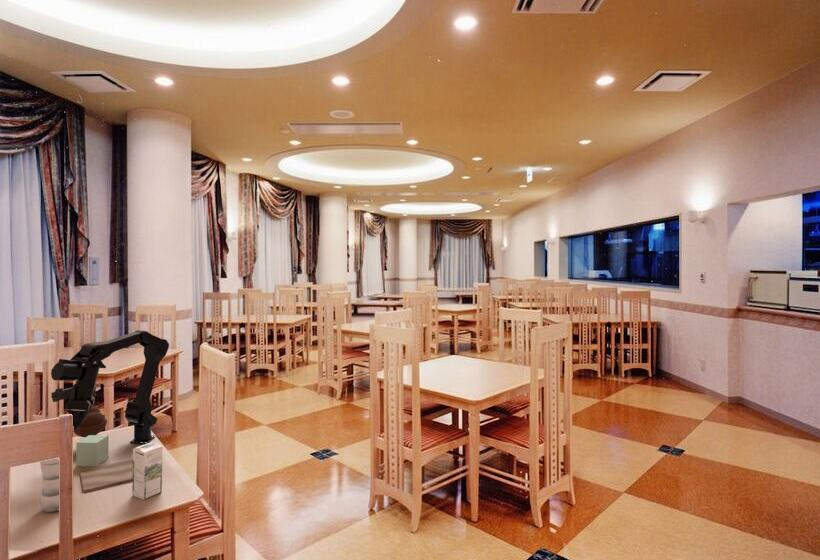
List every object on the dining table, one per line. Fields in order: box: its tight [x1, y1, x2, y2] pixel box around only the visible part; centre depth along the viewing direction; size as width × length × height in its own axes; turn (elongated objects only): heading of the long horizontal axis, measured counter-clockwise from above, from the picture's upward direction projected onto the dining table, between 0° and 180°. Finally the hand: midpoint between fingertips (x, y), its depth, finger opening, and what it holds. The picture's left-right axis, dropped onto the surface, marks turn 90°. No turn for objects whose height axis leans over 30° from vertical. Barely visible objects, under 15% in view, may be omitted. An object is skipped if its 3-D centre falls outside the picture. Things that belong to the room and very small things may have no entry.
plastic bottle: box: [39, 459, 59, 513], centre depth 128 cm, size 6×7×20 cm
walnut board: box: [79, 458, 133, 493], centre depth 149 cm, size 16×16×1 cm
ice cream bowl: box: [73, 405, 108, 438], centre depth 169 cm, size 11×11×15 cm
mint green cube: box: [75, 434, 110, 467], centre depth 158 cm, size 7×7×8 cm
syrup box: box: [131, 441, 164, 501], centre depth 138 cm, size 6×6×14 cm
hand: (74, 428), depth 153 cm, fingers open, 9 cm apart
